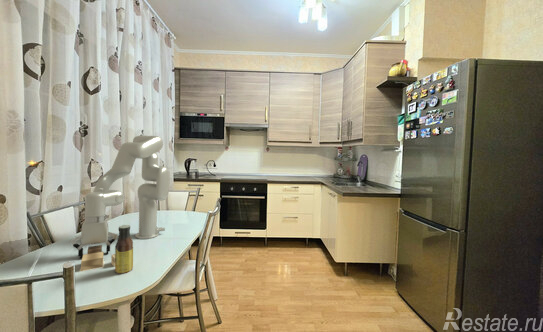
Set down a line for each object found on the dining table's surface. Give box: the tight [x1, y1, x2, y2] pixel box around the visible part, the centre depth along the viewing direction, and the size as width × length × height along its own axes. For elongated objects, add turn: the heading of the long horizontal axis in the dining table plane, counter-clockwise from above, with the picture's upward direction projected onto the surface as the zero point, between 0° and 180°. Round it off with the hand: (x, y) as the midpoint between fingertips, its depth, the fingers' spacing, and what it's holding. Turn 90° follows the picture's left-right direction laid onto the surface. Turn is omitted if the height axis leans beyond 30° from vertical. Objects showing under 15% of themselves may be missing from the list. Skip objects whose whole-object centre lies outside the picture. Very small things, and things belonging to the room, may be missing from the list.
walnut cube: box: [86, 244, 103, 254], centre depth 107 cm, size 5×5×5 cm
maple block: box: [110, 253, 115, 268], centre depth 101 cm, size 4×4×4 cm
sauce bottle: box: [114, 224, 134, 275], centre depth 95 cm, size 6×6×20 cm
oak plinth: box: [80, 251, 104, 272], centre depth 98 cm, size 7×7×4 cm
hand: (94, 255), depth 107 cm, fingers open, 9 cm apart
